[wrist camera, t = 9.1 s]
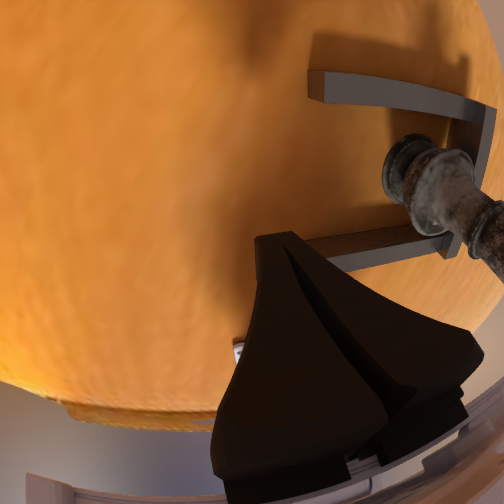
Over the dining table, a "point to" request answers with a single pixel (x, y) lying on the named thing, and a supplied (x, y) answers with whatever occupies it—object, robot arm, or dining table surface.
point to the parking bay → (460, 137)
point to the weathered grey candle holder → (445, 197)
